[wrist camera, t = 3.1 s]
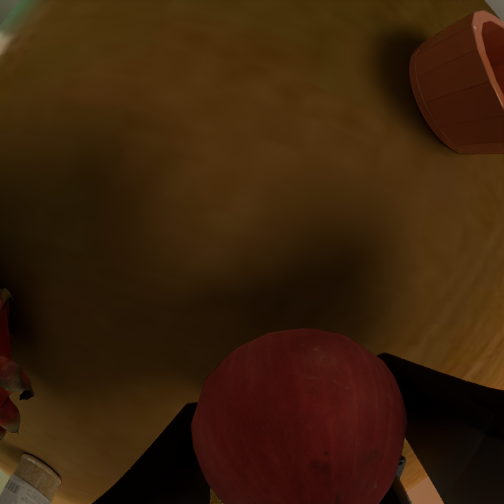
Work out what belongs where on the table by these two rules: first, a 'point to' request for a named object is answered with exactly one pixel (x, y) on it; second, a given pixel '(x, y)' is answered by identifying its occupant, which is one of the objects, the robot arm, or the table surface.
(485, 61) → the cup
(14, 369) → the dragon fruit
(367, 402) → the onion
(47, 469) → the sprinkles bottle
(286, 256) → the table surface
